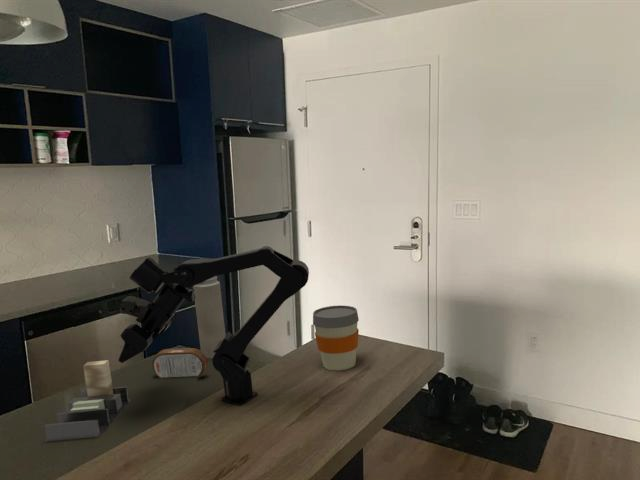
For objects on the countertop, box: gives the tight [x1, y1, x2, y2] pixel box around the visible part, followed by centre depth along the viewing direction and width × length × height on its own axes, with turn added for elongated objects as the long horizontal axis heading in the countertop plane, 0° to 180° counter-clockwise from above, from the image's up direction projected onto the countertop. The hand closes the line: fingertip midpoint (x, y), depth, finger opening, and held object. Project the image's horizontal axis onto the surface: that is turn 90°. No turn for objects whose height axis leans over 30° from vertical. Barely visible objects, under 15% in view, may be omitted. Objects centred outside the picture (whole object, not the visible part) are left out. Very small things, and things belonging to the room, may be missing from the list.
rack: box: [43, 386, 131, 443], centre depth 114 cm, size 12×18×4 cm
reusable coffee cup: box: [312, 305, 359, 371], centre depth 136 cm, size 12×13×15 cm
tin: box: [151, 347, 209, 379], centre depth 136 cm, size 15×3×8 cm, turn 84°
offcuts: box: [70, 399, 105, 412], centre depth 113 cm, size 6×4×4 cm, turn 91°
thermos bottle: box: [192, 275, 227, 359], centre depth 153 cm, size 8×8×28 cm
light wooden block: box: [82, 359, 114, 397], centre depth 120 cm, size 5×2×11 cm, turn 91°
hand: (127, 354), depth 120 cm, fingers open, 9 cm apart
